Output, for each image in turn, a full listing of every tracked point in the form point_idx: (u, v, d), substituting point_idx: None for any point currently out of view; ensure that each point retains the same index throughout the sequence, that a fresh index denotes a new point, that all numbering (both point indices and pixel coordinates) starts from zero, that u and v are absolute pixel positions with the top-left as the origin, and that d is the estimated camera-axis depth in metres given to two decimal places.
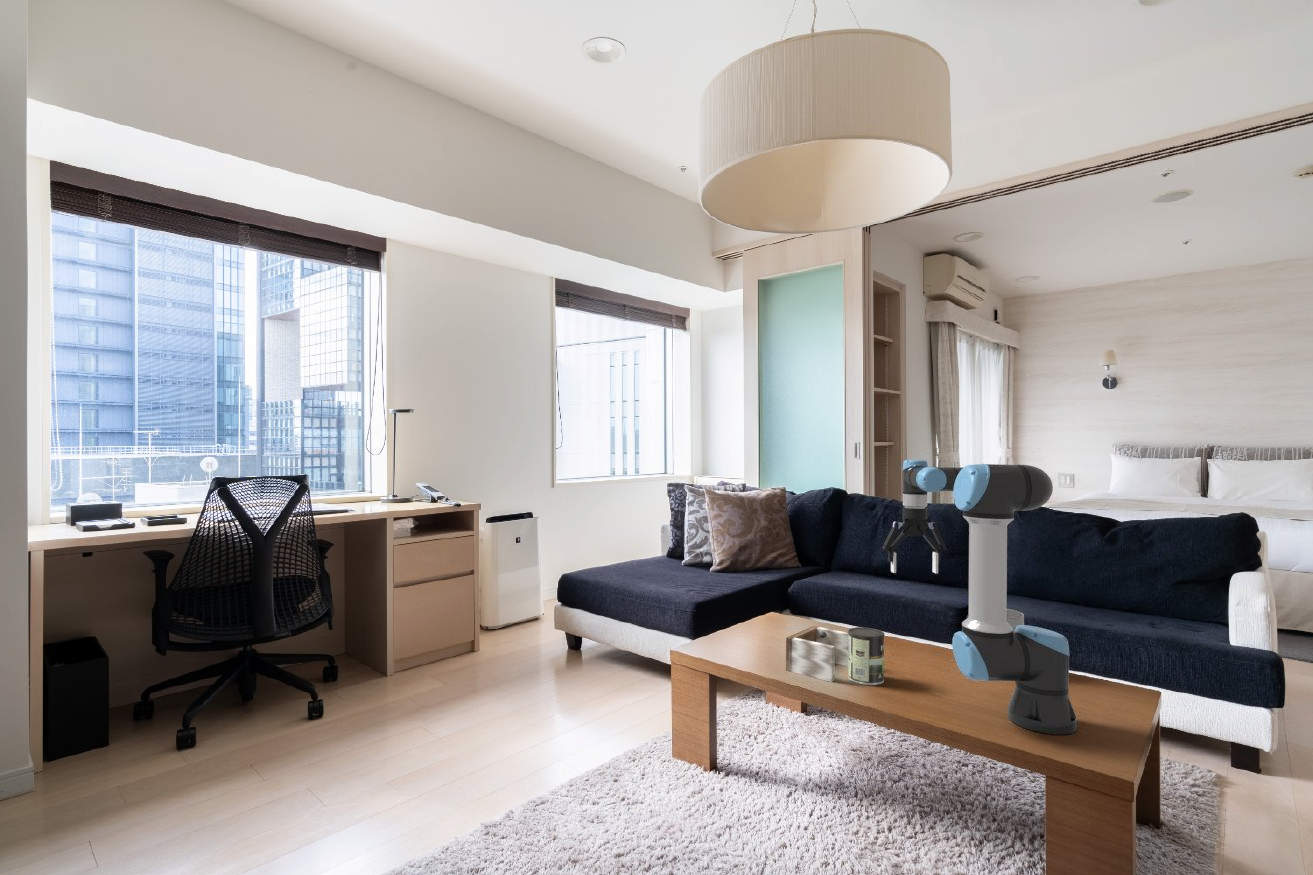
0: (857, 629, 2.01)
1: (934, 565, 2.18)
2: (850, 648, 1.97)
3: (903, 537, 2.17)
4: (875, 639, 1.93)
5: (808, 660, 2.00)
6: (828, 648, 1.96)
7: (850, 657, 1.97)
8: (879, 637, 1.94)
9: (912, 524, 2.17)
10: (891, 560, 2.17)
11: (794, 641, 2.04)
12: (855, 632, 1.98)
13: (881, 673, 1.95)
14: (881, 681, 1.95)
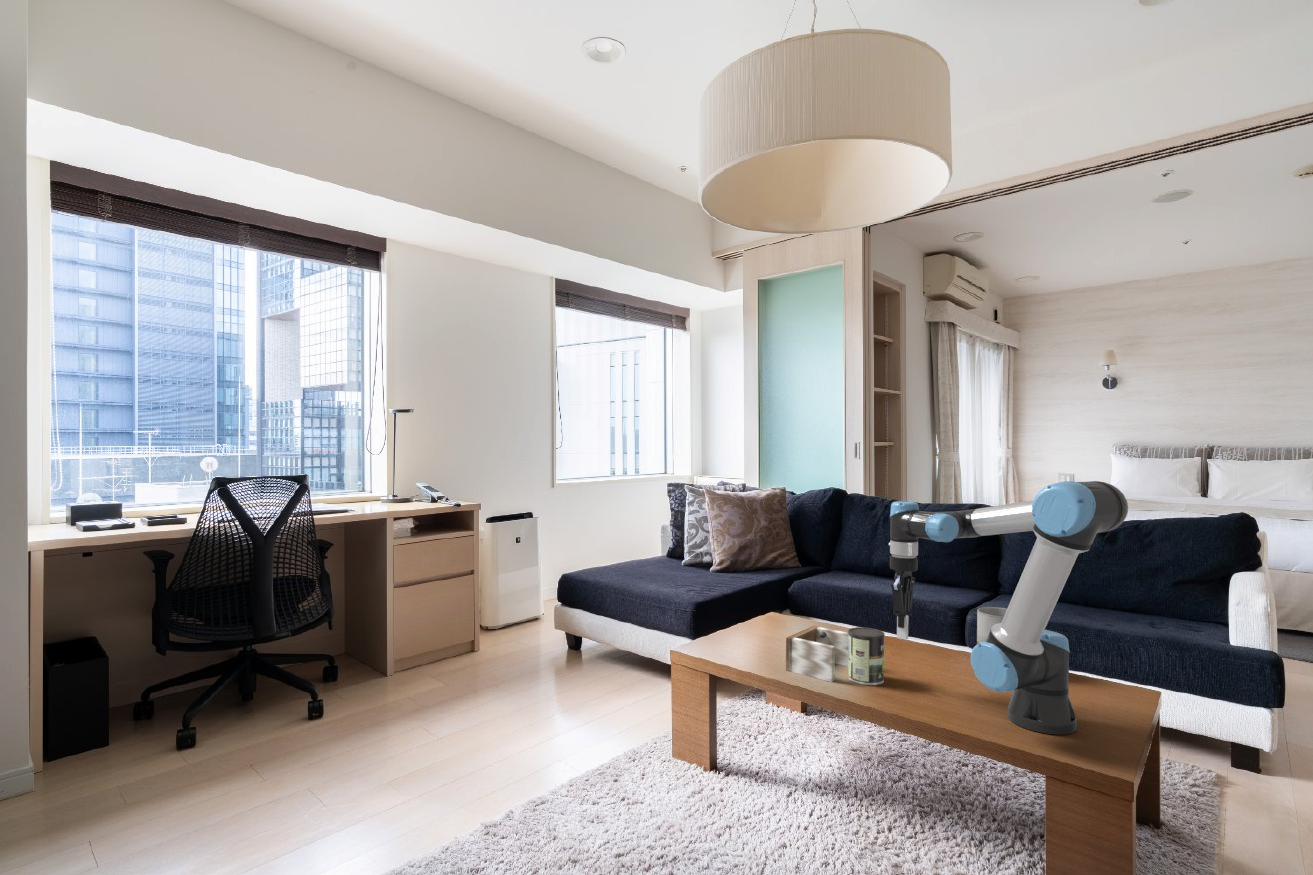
0: (857, 629, 2.01)
1: None
2: (850, 648, 1.97)
3: (905, 594, 1.90)
4: (875, 639, 1.93)
5: (808, 660, 2.00)
6: (828, 648, 1.96)
7: (850, 657, 1.97)
8: (879, 637, 1.94)
9: (905, 572, 1.90)
10: (903, 625, 1.90)
11: (794, 641, 2.04)
12: (855, 632, 1.98)
13: (881, 673, 1.95)
14: (881, 681, 1.95)
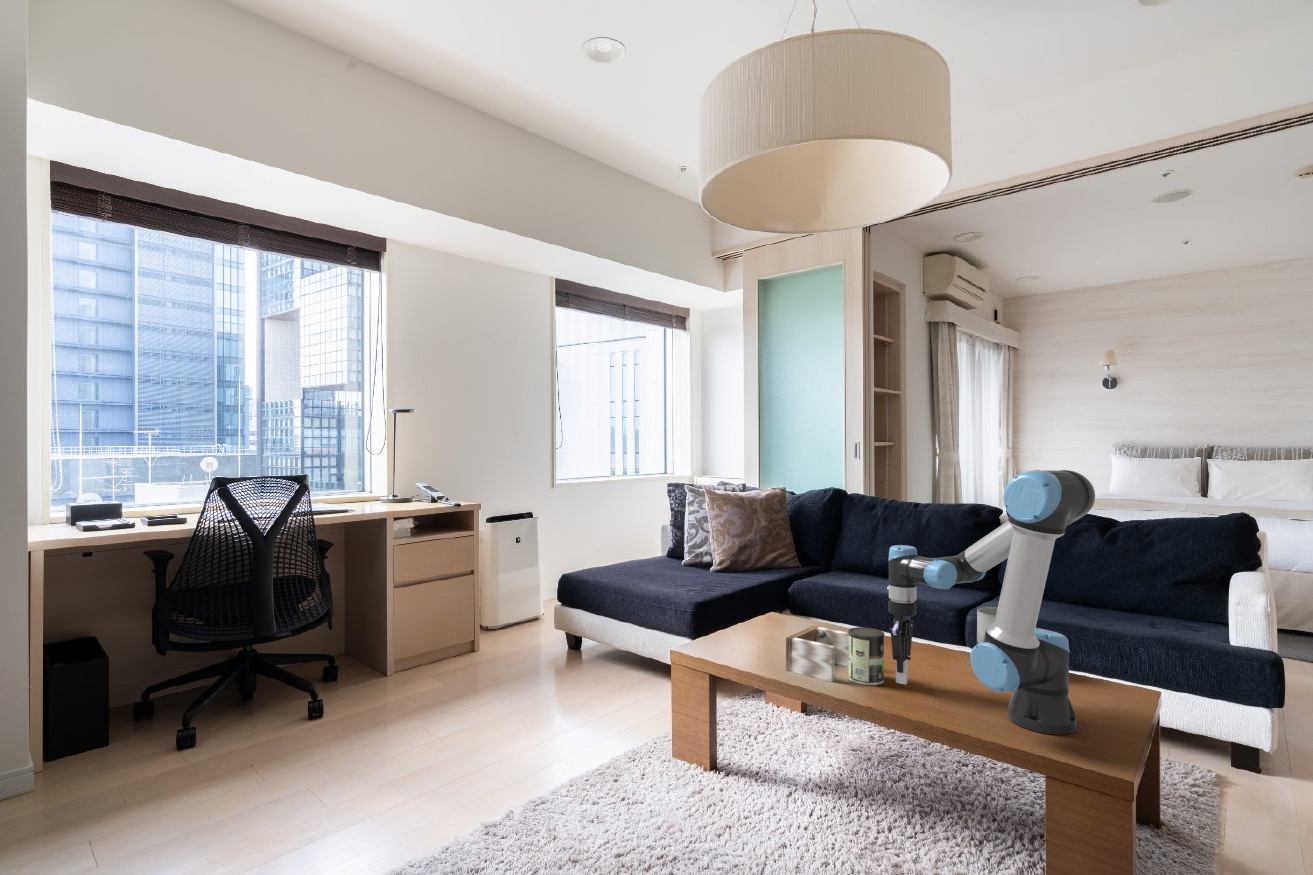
0: (857, 629, 2.01)
1: None
2: (850, 648, 1.97)
3: (904, 639, 1.90)
4: (875, 639, 1.93)
5: (808, 660, 2.00)
6: (828, 648, 1.96)
7: (850, 657, 1.97)
8: (879, 637, 1.94)
9: (903, 617, 1.90)
10: (902, 670, 1.90)
11: (794, 641, 2.04)
12: (855, 632, 1.98)
13: (881, 673, 1.95)
14: (881, 681, 1.95)
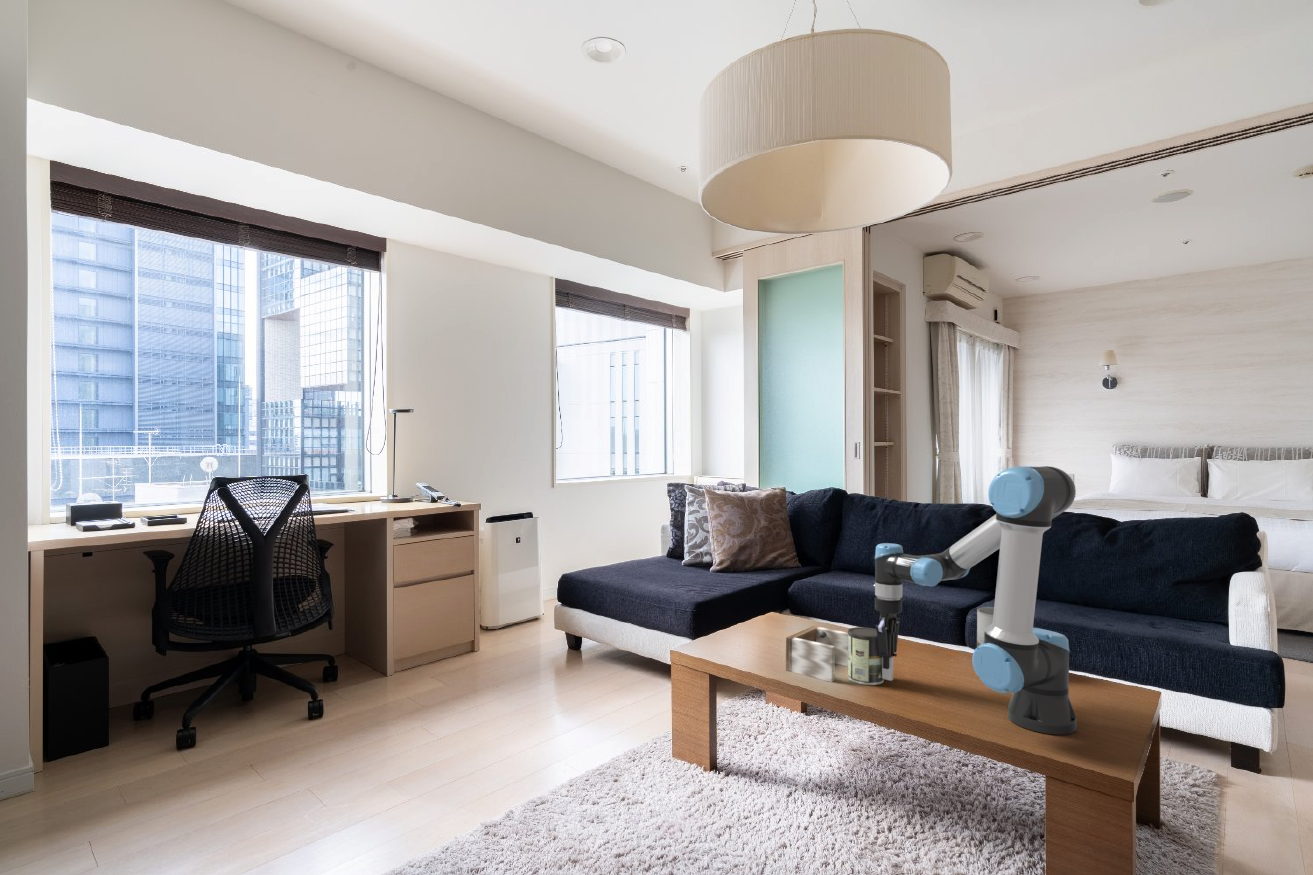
0: (857, 629, 2.01)
1: None
2: (850, 648, 1.97)
3: (890, 636, 1.92)
4: (874, 639, 1.94)
5: (808, 660, 2.00)
6: (828, 648, 1.96)
7: (850, 657, 1.97)
8: None
9: (889, 614, 1.92)
10: (888, 666, 1.93)
11: (794, 641, 2.04)
12: (855, 632, 1.98)
13: (881, 672, 1.95)
14: (881, 681, 1.95)
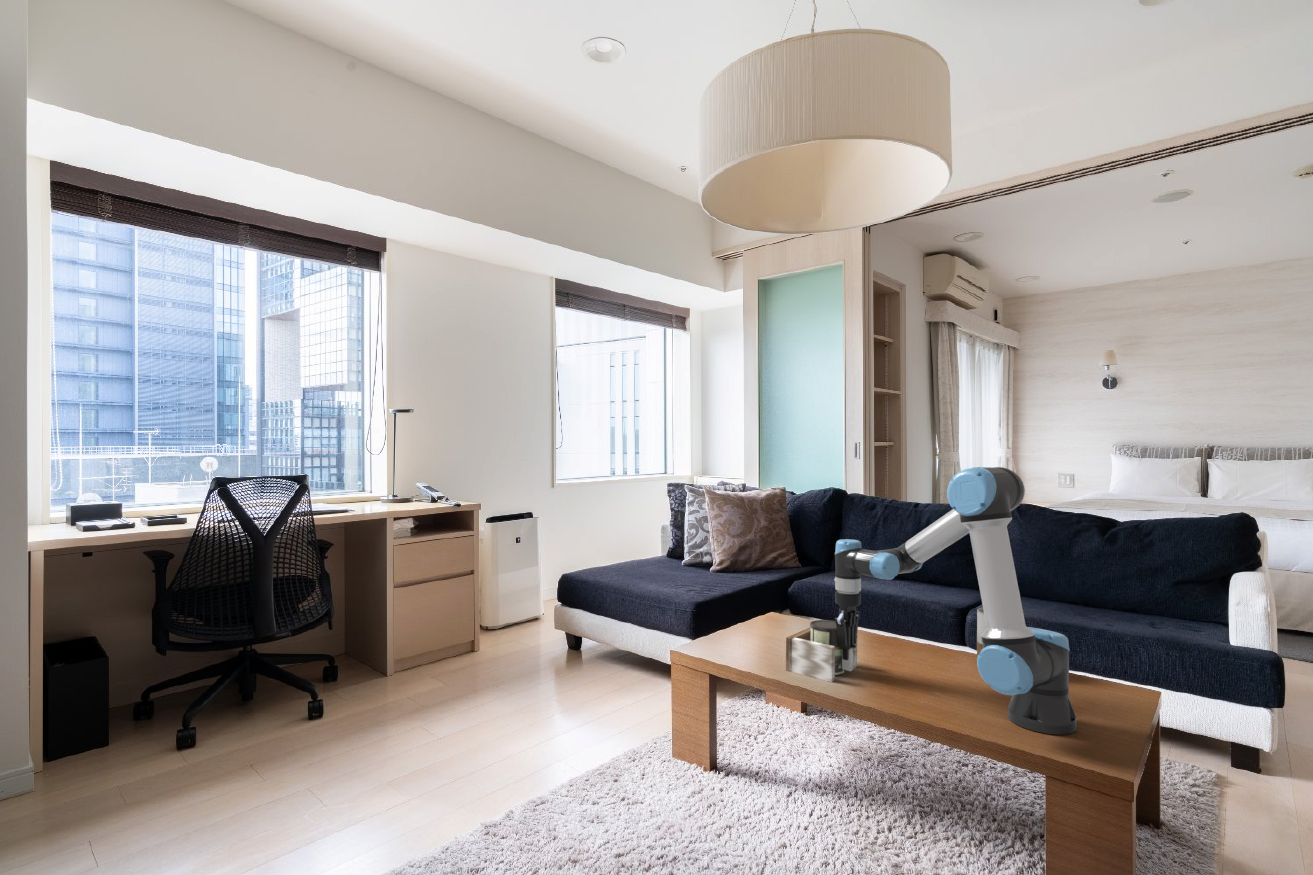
0: (819, 622, 2.09)
1: None
2: (812, 640, 2.05)
3: (849, 628, 2.00)
4: (835, 631, 2.01)
5: (808, 660, 2.00)
6: (828, 648, 1.96)
7: None
8: None
9: (848, 607, 2.00)
10: (847, 658, 2.01)
11: (794, 641, 2.04)
12: (816, 624, 2.06)
13: (841, 663, 2.03)
14: (841, 671, 2.02)
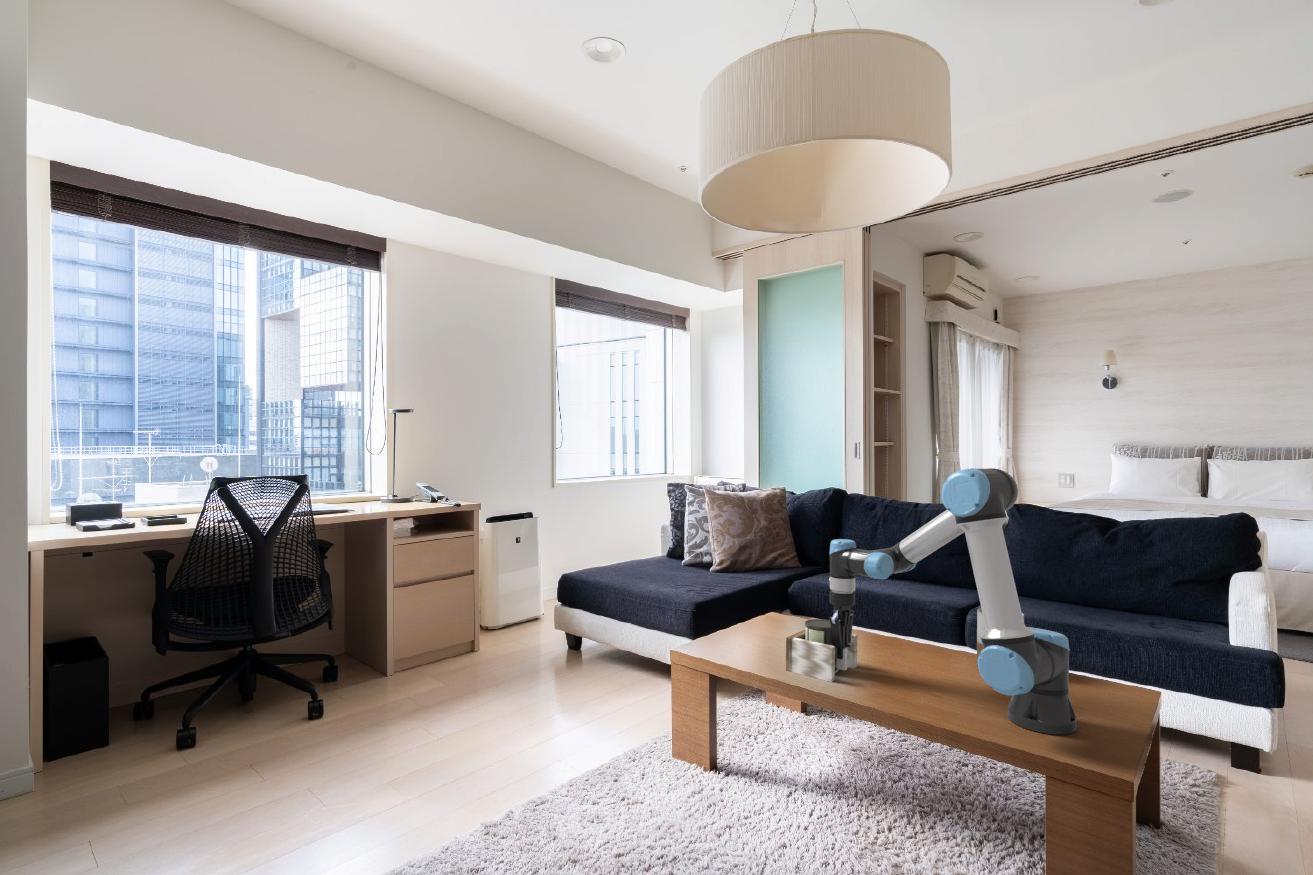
0: (814, 621, 2.10)
1: None
2: (806, 639, 2.06)
3: (844, 628, 2.01)
4: (829, 630, 2.02)
5: (808, 660, 2.00)
6: (828, 648, 1.96)
7: None
8: None
9: (843, 606, 2.01)
10: (842, 657, 2.02)
11: (794, 641, 2.04)
12: (811, 623, 2.07)
13: (836, 662, 2.04)
14: (835, 670, 2.04)
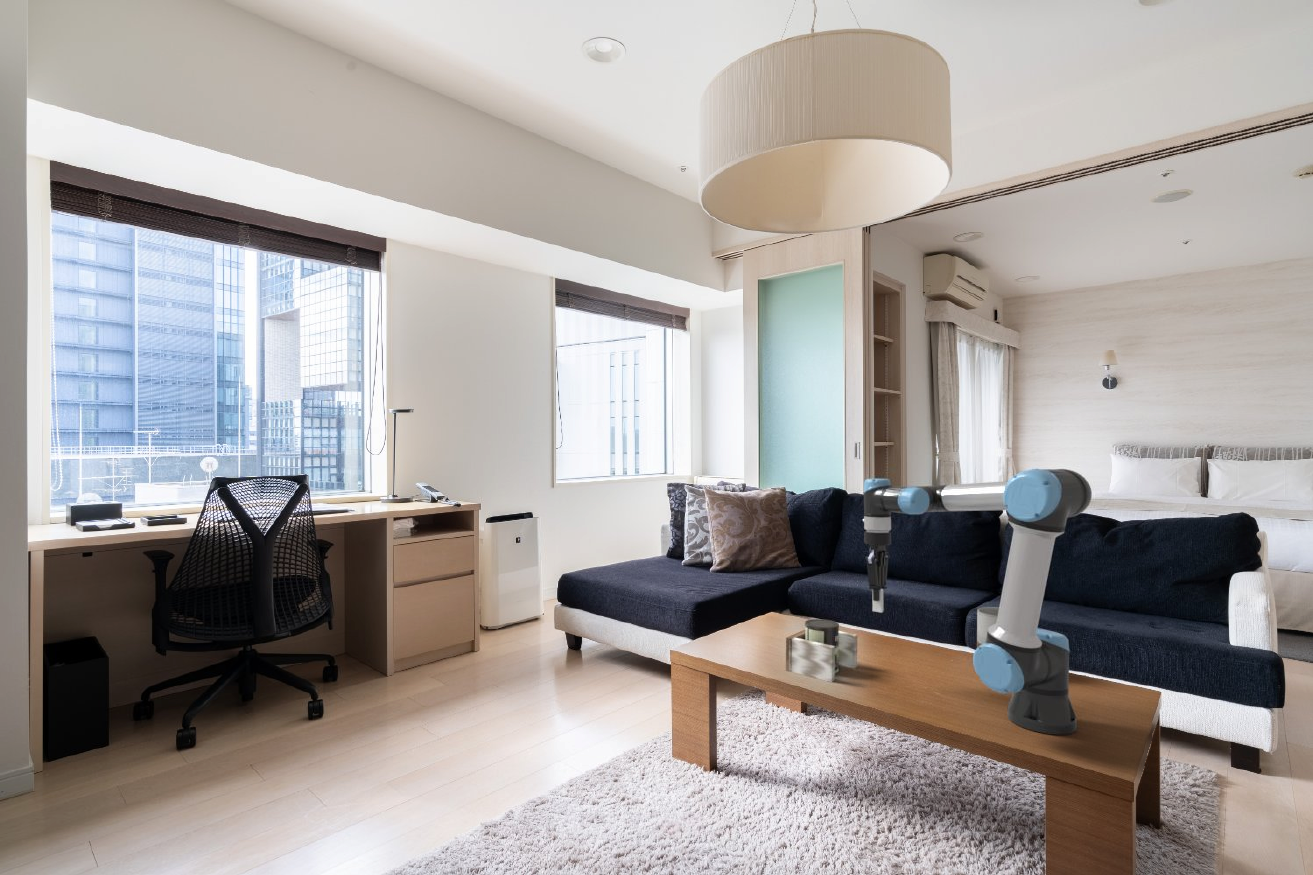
0: (814, 621, 2.10)
1: None
2: (806, 639, 2.06)
3: (880, 568, 1.96)
4: (829, 630, 2.02)
5: (808, 660, 2.00)
6: (828, 648, 1.96)
7: None
8: (833, 628, 2.03)
9: (878, 546, 1.96)
10: (878, 599, 1.96)
11: (794, 641, 2.04)
12: (811, 623, 2.07)
13: (836, 662, 2.04)
14: (835, 670, 2.04)
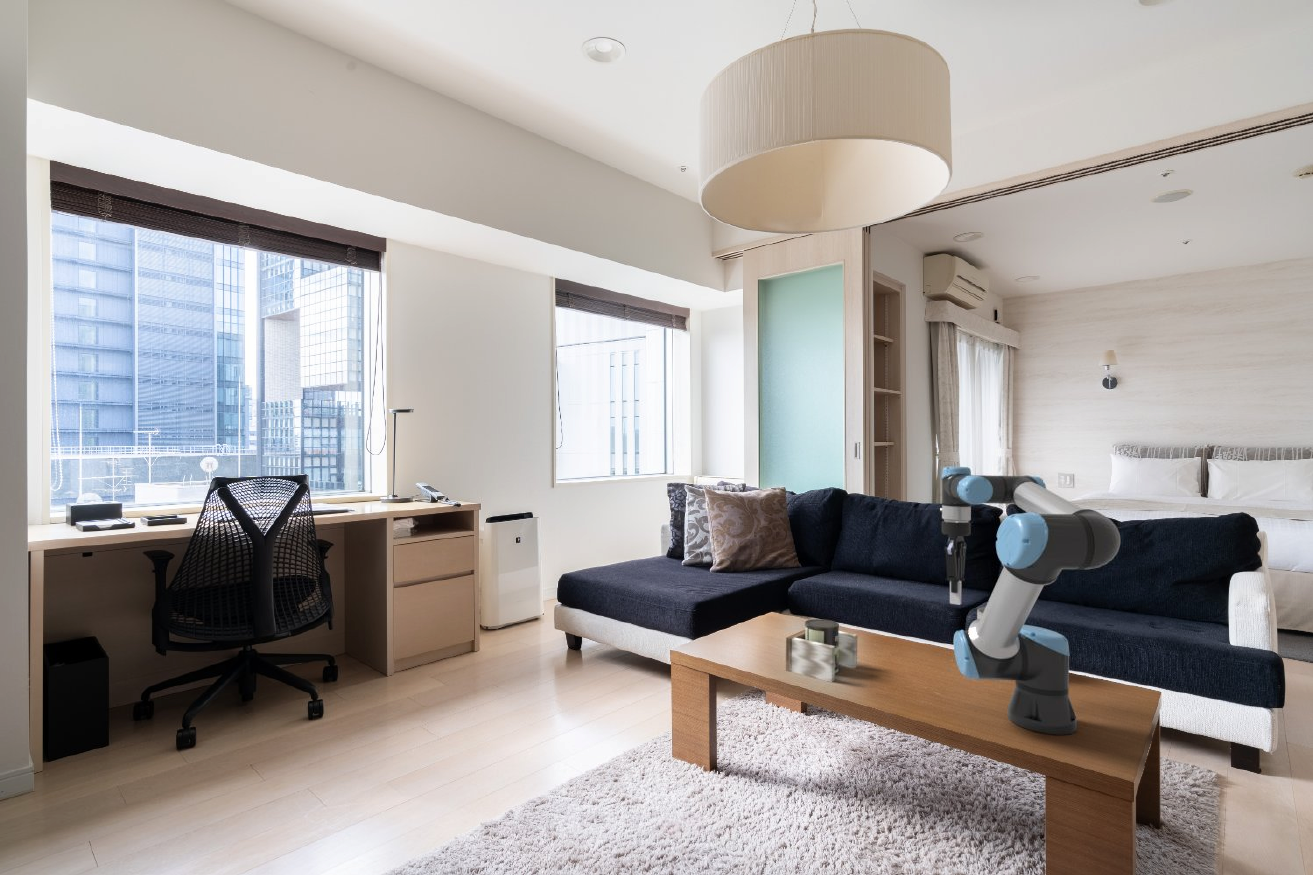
0: (814, 621, 2.10)
1: None
2: (806, 639, 2.06)
3: (959, 559, 1.89)
4: (829, 630, 2.02)
5: (808, 660, 2.00)
6: (828, 648, 1.96)
7: None
8: (833, 628, 2.03)
9: (958, 537, 1.89)
10: (956, 591, 1.89)
11: (794, 641, 2.04)
12: (811, 623, 2.07)
13: (836, 662, 2.04)
14: (835, 670, 2.04)
